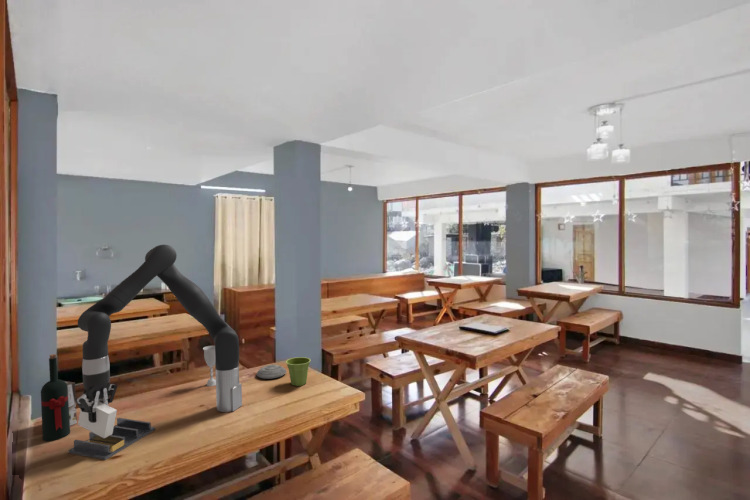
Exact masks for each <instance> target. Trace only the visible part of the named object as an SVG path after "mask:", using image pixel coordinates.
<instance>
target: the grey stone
mask: <svg viewBox="0 0 750 500" xmlns="http://www.w3.org/2000/svg"><path fill="white" fill-rule="evenodd" d="M285 374H287V369H286V368H285V367H284V366H282V365H279V364H269V365H265V366H263V367H261V368H259V369H258V371H257V372H256V374H255V375H256V376H257V377H258V378H260V379H263V380H264V379H265V380H269V379H270V380H271V379H272V380H273V379H277V378H280V377H283V376H284V375H285Z"/></svg>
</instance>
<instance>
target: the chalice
mask: <svg viewBox="0 0 750 500" xmlns="http://www.w3.org/2000/svg"><path fill="white" fill-rule="evenodd" d="M202 350H203V353H204V354H203V356H204V361H205V363H206V365H207V367H209V369H210V370H209V372H210V374H209V376H210V378H209V379H207V382H206V386H207V387H214V386H216V378H214V369H213V367H215V345H208V346H204V347H203V348H202Z"/></svg>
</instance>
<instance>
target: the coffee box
mask: <svg viewBox="0 0 750 500" xmlns="http://www.w3.org/2000/svg"><path fill="white" fill-rule="evenodd" d="M64 381H65V382H66V383H67V385H68V402H69V419H70V427H71V426H74V425H75V424H78V420H77V419H78V417H77V403H76V401H75V399H76V398H77V396H76V382H75V381H74V382H73V381H68V380H67V381H66V380H64ZM43 386H44V385H43ZM43 386H41V388H42V387H43Z"/></svg>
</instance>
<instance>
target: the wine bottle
mask: <svg viewBox="0 0 750 500" xmlns="http://www.w3.org/2000/svg"><path fill="white" fill-rule="evenodd" d="M57 359H58V357H57V354H56V353H53V354H52V353H51V354H49V358H48V366H49V370H48V371H49V380H48V381H47V382H46V383H44V384H43V387H42V386H41V390H40V405H41V429H42V441H45V442H53V441H58V440H61V439H63V438H66V437H68V436H69V435H70V434H71V426H70V419H69V402H68V385H67V383H66V382H65V381H66V380H64V379H63V380H62V379H60V378H59V377H58V376H59V375H58V360H57Z"/></svg>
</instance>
